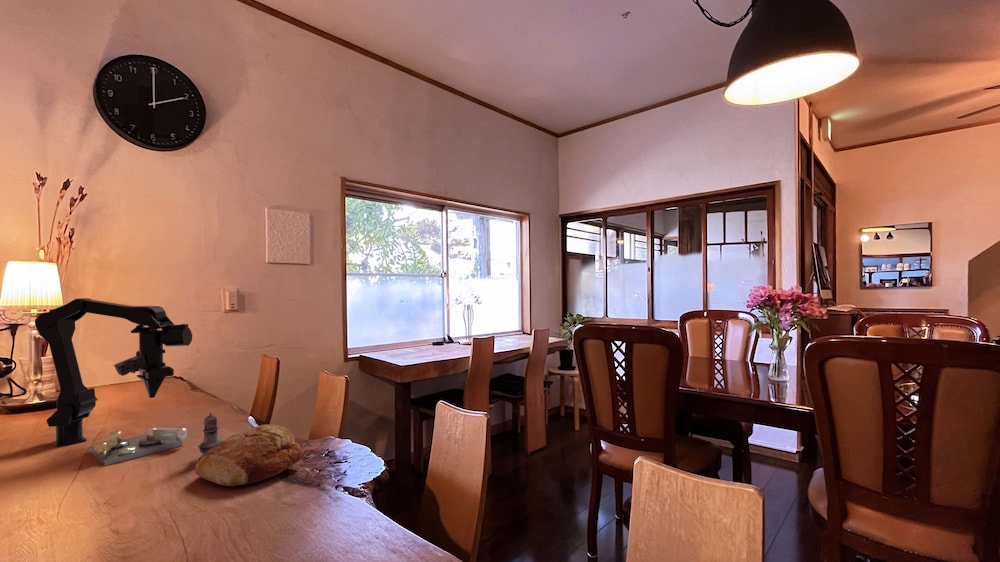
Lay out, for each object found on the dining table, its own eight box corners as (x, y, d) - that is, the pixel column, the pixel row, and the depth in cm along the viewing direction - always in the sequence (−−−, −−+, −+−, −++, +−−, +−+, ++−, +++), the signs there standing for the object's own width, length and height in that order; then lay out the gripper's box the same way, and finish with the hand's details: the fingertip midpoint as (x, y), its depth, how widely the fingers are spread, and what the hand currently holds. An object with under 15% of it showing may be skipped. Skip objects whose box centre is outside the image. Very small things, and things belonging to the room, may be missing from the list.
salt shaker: (211, 461, 115) (210, 416, 115) (192, 460, 116) (191, 415, 116) (229, 453, 120) (228, 409, 120) (211, 451, 122) (210, 408, 122)
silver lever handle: (132, 445, 123) (132, 432, 123) (151, 437, 129) (151, 425, 129) (176, 446, 122) (176, 432, 122) (193, 438, 128) (193, 425, 128)
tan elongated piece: (106, 443, 124) (106, 430, 124) (132, 440, 127) (132, 427, 127) (83, 460, 112) (83, 446, 112) (113, 457, 114) (113, 442, 114)
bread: (305, 463, 113) (304, 424, 113) (241, 495, 96) (240, 450, 96) (248, 453, 121) (248, 416, 121) (179, 481, 104) (179, 439, 104)
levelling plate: (89, 452, 122) (89, 443, 122) (163, 434, 136) (163, 426, 136) (104, 466, 113) (104, 456, 113) (182, 445, 126) (182, 436, 126)
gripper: (108, 348, 133) (109, 399, 133) (126, 353, 122) (127, 408, 122) (153, 343, 142) (154, 391, 142) (174, 348, 131) (174, 399, 131)
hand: (151, 397), depth 134 cm, fingers closed
